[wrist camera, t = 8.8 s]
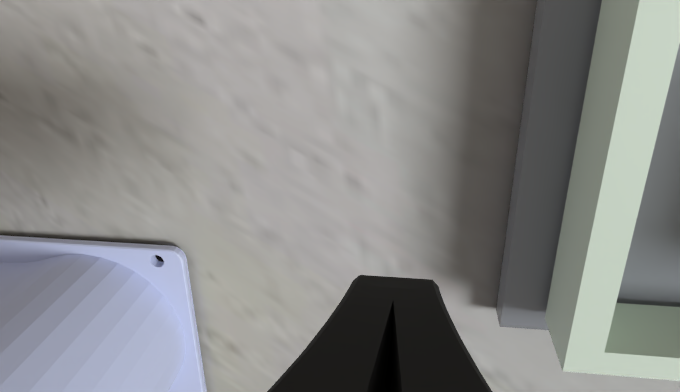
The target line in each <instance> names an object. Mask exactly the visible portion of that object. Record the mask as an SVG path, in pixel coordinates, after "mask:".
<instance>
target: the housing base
mask: <svg viewBox="0 0 680 392" xmlns="http://www.w3.org/2000/svg"><path fill="white" fill-rule="evenodd" d="M601 3H602V0H537V5H536V12H535V20H534V27H533V35H532V43H531V50H530V58H529V65H528V73H527V80H526V88H525V95H524V103H523V111H522V118H521V126H520V133H519V141H518V148H517V156H516V163H515V171H514V178H513V186H512V194H511V201H510V209H509V216H508V224H507V231H506V239H505V246H504V254H503V261H502V269H501V277H500V284H499V292H498V299H497V307H496V311H497V315H498V320H499V325H500V327H514V328H527V329H541V330H549V329H548V326H547V323H546V320H545V314H546V309H547V303H548V298H549V292H550V287H551V281H552V276H553V270H554V264H555V259H556V253H557V248H558V242H559V237H560V231H561V225H562V220H563V214H564V209H565V203H566V198H567V192H568V186H569V181H570V175H571V170H572V164H573V159H574V153H575V148H576V142H577V136H578V131H579V125H580V120H581V114H582V109H583V103H584V97H585V92H586V86H587V81H588V75H589V70H590V64H591V59H592V53H593V47H594V42H595V36H596V31H597V25H598V20H599V14H600V8H601ZM616 303H626V304H641V305H656V306H671V307H680V44H679V48H678V52H677V56H676V60H675V64H674V68H673V72H672V77H671V81H670V85H669V89H668V93H667V97H666V101H665V105H664V109H663V113H662V118H661V122H660V126H659V130H658V134H657V138H656V142H655V146H654V150H653V154H652V159H651V163H650V167H649V171H648V175H647V179H646V183H645V187H644V191H643V195H642V200H641V204H640V208H639V212H638V216H637V220H636V224H635V228H634V232H633V236H632V241H631V245H630V249H629V253H628V257H627V261H626V265H625V269H624V273H623V277H622V282H621V286H620V290H619V294H618V298H617V302H616Z"/></svg>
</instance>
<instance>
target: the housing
mask: <svg viewBox="0 0 680 392" xmlns="http://www.w3.org/2000/svg"><path fill="white" fill-rule="evenodd" d="M679 44H680V0H602V3H601V8H600V14H599V20H598V25H597V31H596V36H595V42H594V47H593V53H592V59H591V64H590V70H589V75H588V81H587V86H586V92H585V97H584V103H583V109H582V114H581V120H580V125H579V131H578V136H577V142H576V148H575V153H574V159H573V164H572V170H571V175H570V181H569V186H568V192H567V198H566V203H565V209H564V214H563V220H562V225H561V231H560V237H559V242H558V248H557V253H556V259H555V264H554V270H553V276H552V281H551V287H550V292H549V298H548V303H547V309H546V314H545V320H546V323H547V326H548V329H549V332H550V335H551V338H552V341H553V344H554V347H555V350H556V353H557V356H558V359H559V362H560V365H561V368H562V370H563V371H566V372H578V373H590V374H602V375H614V376H626V377H638V378H650V379H662V380H674V381H680V307H671V306H656V305H641V304H626V303H616V302H617V298H618V294H619V290H620V286H621V282H622V277H623V273H624V269H625V265H626V261H627V257H628V253H629V249H630V245H631V241H632V236H633V232H634V228H635V224H636V220H637V216H638V212H639V208H640V204H641V200H642V195H643V191H644V187H645V183H646V179H647V175H648V171H649V167H650V163H651V159H652V154H653V150H654V146H655V142H656V138H657V134H658V130H659V126H660V122H661V118H662V113H663V109H664V105H665V101H666V97H667V93H668V89H669V85H670V81H671V77H672V72H673V68H674V64H675V60H676V56H677V52H678V48H679Z"/></svg>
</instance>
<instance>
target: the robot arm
mask: <svg viewBox="0 0 680 392" xmlns="http://www.w3.org/2000/svg"><path fill="white" fill-rule="evenodd" d="M155 255H158V256H160V257H161V258H162V259H163V261H164V262H161V261H159V260H158V259H156V256H155ZM0 392H207V391H206V384H205V377H204V371H203V364H202V357H201V351H200V344H199V338H198V331H197V324H196V318H195V311H194V305H193V298H192V291H191V285H190V278H189V272H188V265H187V258H186V255H185V253H184V252H183V251H182V250H181V249H180V248H178V247H175V246H169V245H152V244H136V243H119V242H103V241H86V240H69V239H53V238H36V237H20V236H3V235H0ZM267 392H492V391H491V389H490V387H489V386H488V384H487V383H486V381H485V379H484V378H483V376H482V375H481V373H480V371H479V370H478V368H477V366H476V364H475V363H474V361H473V359H472V357H471V356H470V354H469V352H468V350H467V349H466V347H465V345H464V343H463V342H462V340H461V338H460V336H459V334H458V332H457V330H456V328H455V326H454V324H453V322H452V320H451V318H450V316H449V313H448V311H447V309H446V307H445V304H444V302H443V299H442V296H441V294H440V291H439V287H438V285H437V284H436V283H435V282H434V281H433V280H427V279H412V278H396V277H381V276H366V275H360V276H358V277H357V278H356V279H354V280H353V282H352V284H351V286H350V287H349V289H348V291H347V292H346V294H345V296H344V297H343V299H342V300H341V302H340V303H339V305H338V306H337V308H336V309H335V311H334V312H333V313H332V315H331V316H330V318H329V319H328V321H327V322H326V323H325V324H324V326H323V327H322V328H321V330H320V331H319V332H318V333H317V335H316V336H315V337H314V339H313V340H312V341H311V342H310V344H309V345H308V346H307V348H306V349H305V350H304V351H303V352H302V354H301V355H300V356H299V357H298V358H297V359H296V360H295V362H294V363H293V364H292V365H291V366H290V367H289V368H288V369H287V370H286V372H285V373H284V374H283V375H282V376H281V377H280V378H279V379H278V381H277V382H276V383H275V384H274V385H273V386H272V387H271V388H270V389H269V390H268V391H267Z"/></svg>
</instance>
